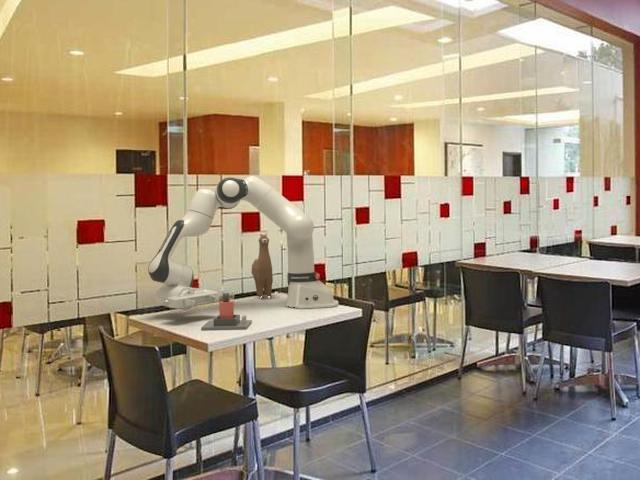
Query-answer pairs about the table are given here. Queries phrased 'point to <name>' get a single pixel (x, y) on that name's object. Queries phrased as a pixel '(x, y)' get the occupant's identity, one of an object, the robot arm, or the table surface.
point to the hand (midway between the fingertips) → (205, 301)
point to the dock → (227, 323)
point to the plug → (226, 307)
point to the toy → (263, 268)
